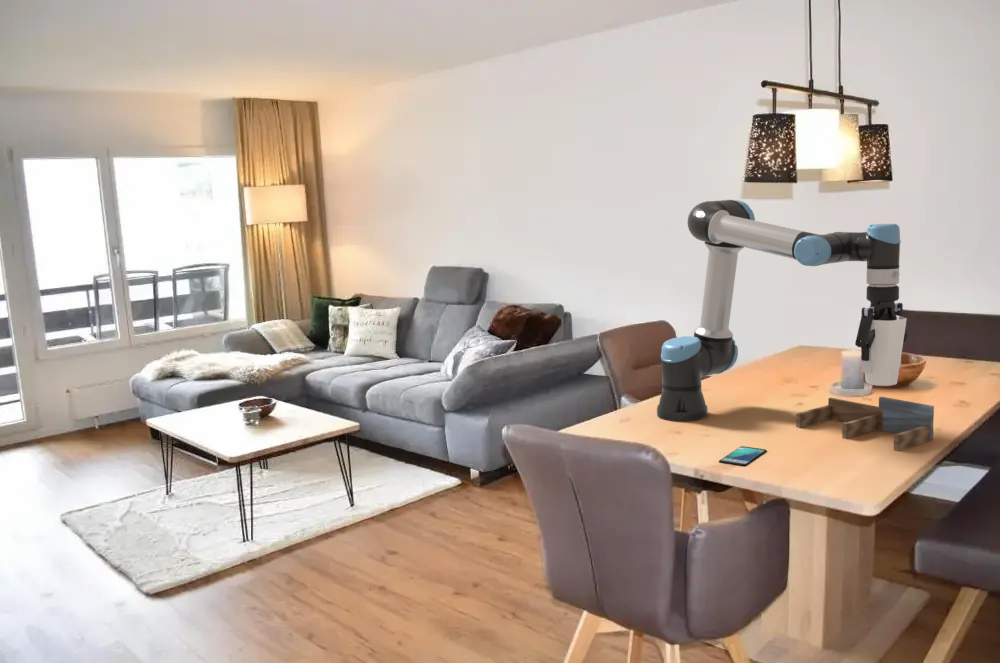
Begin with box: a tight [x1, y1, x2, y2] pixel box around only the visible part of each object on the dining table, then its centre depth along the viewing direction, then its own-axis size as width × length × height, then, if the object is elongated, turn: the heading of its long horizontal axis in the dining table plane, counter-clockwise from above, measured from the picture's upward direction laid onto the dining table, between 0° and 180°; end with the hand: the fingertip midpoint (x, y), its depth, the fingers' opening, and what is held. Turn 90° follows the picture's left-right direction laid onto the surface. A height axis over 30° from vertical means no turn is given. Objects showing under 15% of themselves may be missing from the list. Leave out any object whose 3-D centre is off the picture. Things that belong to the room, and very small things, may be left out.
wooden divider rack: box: [795, 396, 935, 452], centre depth 222 cm, size 15×31×9 cm, turn 32°
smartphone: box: [718, 445, 768, 468], centre depth 208 cm, size 7×1×15 cm
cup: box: [858, 316, 908, 387], centre depth 211 cm, size 11×10×17 cm
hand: (881, 369), depth 212 cm, fingers closed on cup, 11 cm apart
